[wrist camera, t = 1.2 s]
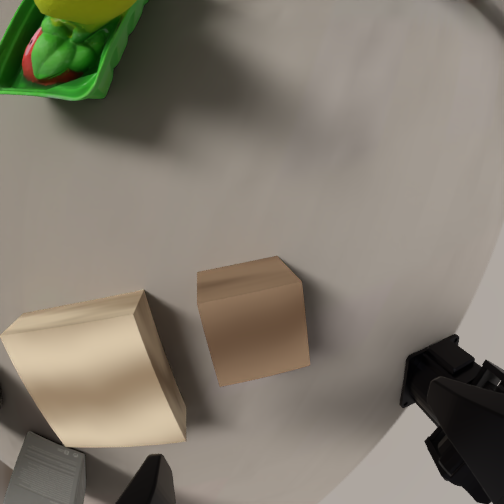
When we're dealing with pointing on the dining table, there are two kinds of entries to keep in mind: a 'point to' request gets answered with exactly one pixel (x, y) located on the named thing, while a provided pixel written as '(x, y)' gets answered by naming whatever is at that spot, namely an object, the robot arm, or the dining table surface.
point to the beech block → (99, 372)
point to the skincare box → (47, 474)
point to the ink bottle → (0, 398)
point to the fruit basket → (65, 47)
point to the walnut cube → (253, 320)
